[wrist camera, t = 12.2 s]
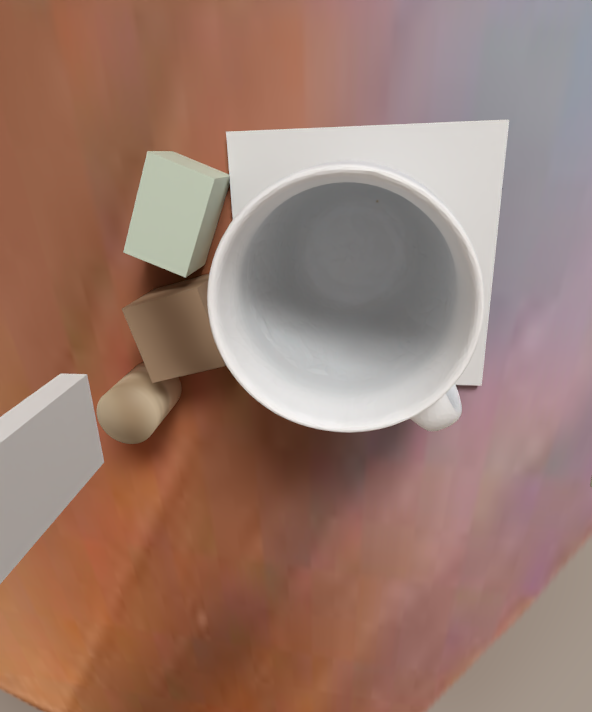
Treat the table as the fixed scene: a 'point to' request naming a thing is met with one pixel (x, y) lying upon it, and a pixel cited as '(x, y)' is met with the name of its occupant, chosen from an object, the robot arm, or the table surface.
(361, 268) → the mug
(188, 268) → the sage block
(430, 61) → the table surface
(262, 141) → the pad
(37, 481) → the robot arm
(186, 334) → the walnut block
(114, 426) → the beech cylinder
